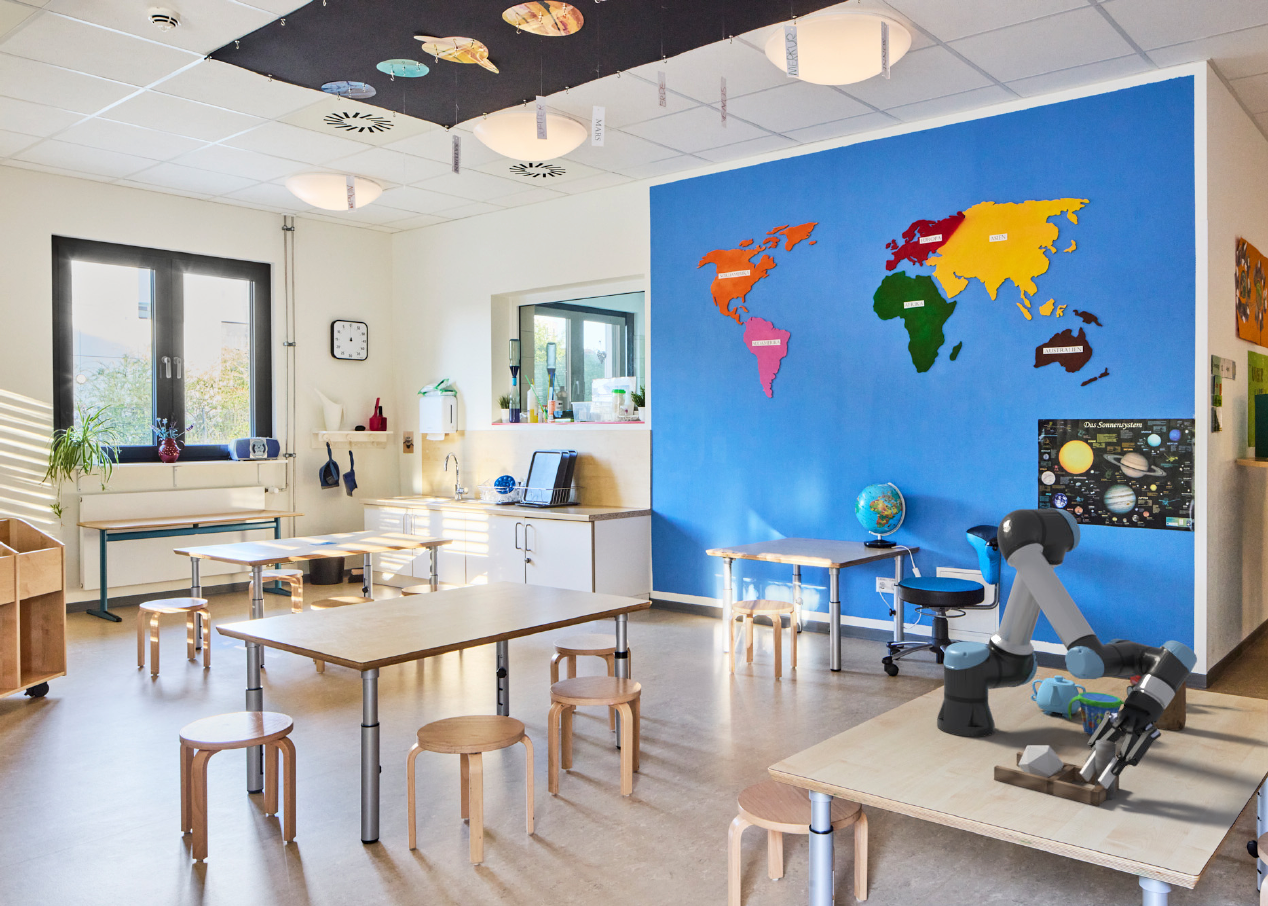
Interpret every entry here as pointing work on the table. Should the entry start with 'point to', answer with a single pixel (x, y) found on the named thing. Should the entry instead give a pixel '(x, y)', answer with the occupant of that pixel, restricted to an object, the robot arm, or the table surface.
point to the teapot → (1056, 695)
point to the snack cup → (1095, 708)
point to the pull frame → (1067, 778)
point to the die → (1040, 761)
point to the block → (1174, 712)
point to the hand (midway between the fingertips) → (1093, 780)
